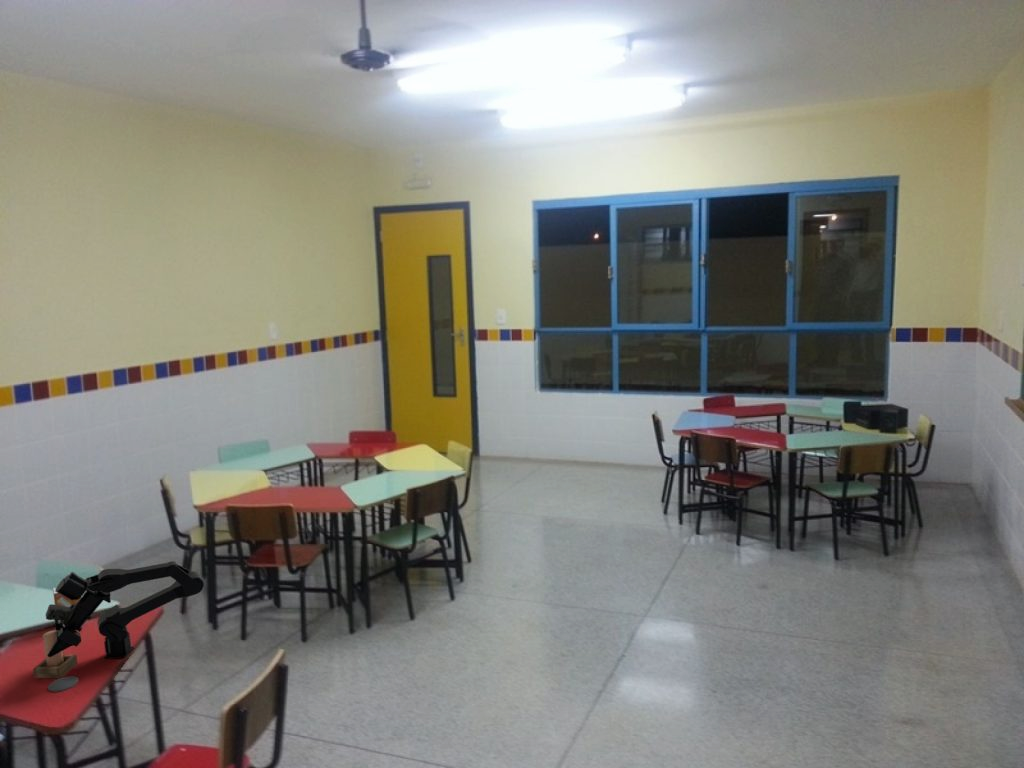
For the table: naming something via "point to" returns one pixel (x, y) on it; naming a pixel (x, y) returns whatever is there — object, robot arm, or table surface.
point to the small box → (63, 599)
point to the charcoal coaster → (63, 684)
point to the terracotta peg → (49, 641)
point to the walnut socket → (55, 668)
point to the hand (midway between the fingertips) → (48, 651)
